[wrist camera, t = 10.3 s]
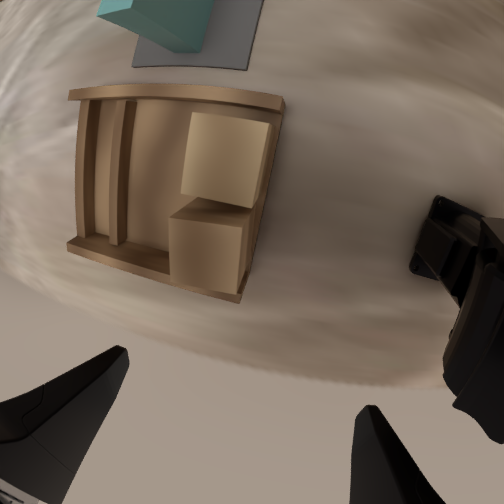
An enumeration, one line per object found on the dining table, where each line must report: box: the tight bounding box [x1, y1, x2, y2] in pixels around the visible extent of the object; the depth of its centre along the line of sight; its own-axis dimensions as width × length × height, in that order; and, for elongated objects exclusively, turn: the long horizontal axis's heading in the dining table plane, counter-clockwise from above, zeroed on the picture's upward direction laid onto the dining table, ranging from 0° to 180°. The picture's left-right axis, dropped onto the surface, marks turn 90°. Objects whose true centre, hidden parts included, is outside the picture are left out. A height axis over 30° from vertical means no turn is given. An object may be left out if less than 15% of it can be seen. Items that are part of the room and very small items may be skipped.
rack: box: [67, 84, 285, 304], centre depth 17 cm, size 15×13×4 cm
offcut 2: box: [168, 197, 256, 295], centre depth 17 cm, size 4×4×5 cm
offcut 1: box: [181, 112, 275, 208], centre depth 15 cm, size 4×4×4 cm
